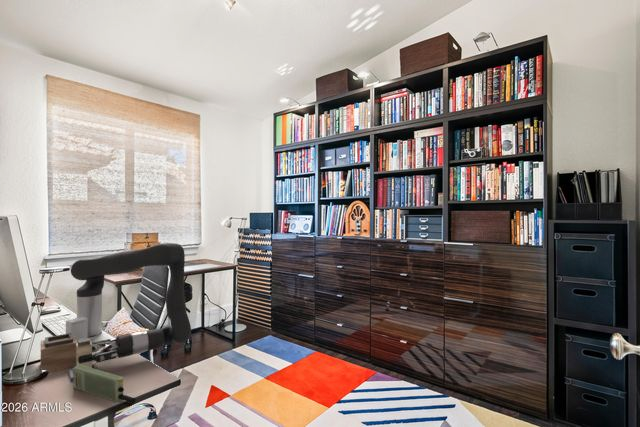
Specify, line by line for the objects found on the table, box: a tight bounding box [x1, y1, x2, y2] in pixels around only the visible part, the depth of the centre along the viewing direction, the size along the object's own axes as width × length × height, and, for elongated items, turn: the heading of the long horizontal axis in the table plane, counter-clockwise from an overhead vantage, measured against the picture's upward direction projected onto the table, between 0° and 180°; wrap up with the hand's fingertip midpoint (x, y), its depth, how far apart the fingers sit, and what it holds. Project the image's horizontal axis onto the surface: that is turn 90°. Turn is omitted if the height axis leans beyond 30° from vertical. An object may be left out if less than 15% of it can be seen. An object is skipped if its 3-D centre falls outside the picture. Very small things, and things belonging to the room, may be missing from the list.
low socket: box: [68, 362, 99, 383], centre depth 115 cm, size 8×8×1 cm
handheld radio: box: [72, 365, 136, 404], centre depth 102 cm, size 7×3×25 cm
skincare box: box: [65, 317, 88, 342], centre depth 134 cm, size 6×4×12 cm
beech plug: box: [76, 337, 93, 368], centre depth 115 cm, size 4×4×11 cm
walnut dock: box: [40, 333, 78, 373], centre depth 122 cm, size 10×10×9 cm
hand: (77, 355), depth 114 cm, fingers open, 8 cm apart
